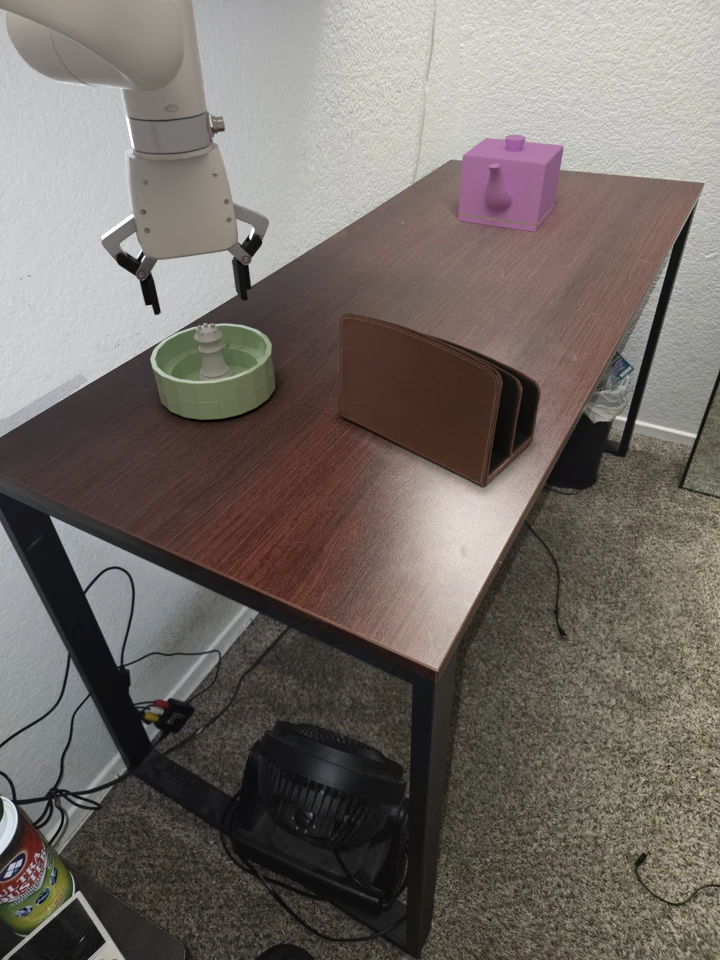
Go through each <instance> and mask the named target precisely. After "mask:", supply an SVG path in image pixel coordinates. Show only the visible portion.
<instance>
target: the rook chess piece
mask: <svg viewBox="0 0 720 960" xmlns="http://www.w3.org/2000/svg"><path fill="white" fill-rule="evenodd" d="M209 324H210V325H211V327H208V322H205V323H202V325H201V324H198V325H197V326H196V327H197V329H196V334H195V336H194V339H195V340H196V341H197V342H199V344H200V345H199V347H198V349H199V351H200V352H201V356H202V368H201V370H200V374H199V376H198V380H199V381H209V380H218V379H223V378H227V377H232V376H234V375H233V372H232V370H231V369H229V367H228V365H226V363H225V361H224V358H223V355H222V351H221V348H222V344H221V343H220V342H219V340H220V338H221V336H222V332H221V331H220V330H218V327H217V325H216V326H215V324H216V323H213V322H211V323H209ZM201 326H204V327H203V328H201Z"/></svg>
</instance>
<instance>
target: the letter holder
mask: <svg viewBox="0 0 720 960" xmlns="http://www.w3.org/2000/svg"><path fill="white" fill-rule="evenodd" d="M339 379H340V380H339V383H340V384H339V387H340V388H339V389H340V391H339V392H340V393H339V394H340V395H339V396H340V398H339V399H340V401H339V412H340V417H341V418H342V419H345V420H348V421H349V422H351V423H354V424H356V425H358V426H360V427H362V428H364V429H365V430H368V431H370V432H372V433H374V434H376V435H378V436H380V437H382V438H384V439H386V440H388V441H390V442H392V443H394V444H396V445H398V446H400V447H402V448H404V449H406V450H408V451H410V452H412V453H414V454H416V455H418V456H420V457H422V458H424V459H425V460H428V461H430V462H432V463H433V464H436V465H438V466H440V467H442V468H444V469H446V470H447V471H450V472H452V473H454V474H456V475H457V476H460V477H462V478H464V479H466V480H469V481H471V482H472V483H474V484H476V485H478V486H480V487H481V488H486V486H487V485H488V484H489V483H490V482H491V481H492V480H493V479H494V478H495V477H496V476H498V474H500V473H501V472H502V471H503V470H504V469H505V468H506V467H507V466H508V465H510V463H511V462H513V460H515V459H516V458H517V457H518V456H519V455H520V454H521V453H522V452H523V451H525V449H526V448H527V447H529V446H530V444H531V443H533V440H534V435H535V429H536V424H537V416H538V410H539V405H540V401H541V394H542V390H541V387H540V384H539V383H538V382H537V381H536V380H535V379H533V378H532V377H530V376H529V375H528V374H525V373H524V372H522V371H520V370H518V369H516V368H514V367H512V366H509V365H508V364H506V363H503V362H501V361H499V360H497V359H495V358H492V357H490V356H488V355H486V354H484V353H481V352H479V351H476V350H474V349H471V348H469V347H467V346H463V345H461V344H458V343H455V342H453V341H450V340H447V339H444V338H440V337H438V336H434V335H431V334H427V333H423V332H420V331H417V330H416V329H412V328H409V327H407V326H404V325H401V324H398V323H394V322H390V321H386V320H383V319H381V318H380V319H379V318H374V317H371V316H365V315H361V314H356V313H343V314H342V315H341V317H340V320H339Z"/></svg>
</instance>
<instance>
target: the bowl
mask: <svg viewBox="0 0 720 960" xmlns="http://www.w3.org/2000/svg"><path fill="white" fill-rule="evenodd" d="M210 324H211V323H209V324H208V323H207V325H208V327H211V325H210ZM214 324H215V326H216V325H217V327H218V330H220V331H221V332H222V336H221V338H220V340H219V342H220V343H221V344H222V348H221V351H222V355H223V358H224V361H225V363H226V365H228V367H229V369H231V370H232V372H233V375H234V376H232V377H227V378H223V379H218V380H209V381H199V380H198V376H199V374H200V370H201V368H202V356H201V352H200V351H199V349H198V347H199V345H200V344H199V342H197V341H196V340H195V339H194V336H195V334H196V329H197V326H193V327H189V328H187V329H184V330H181V331H177V332H175V333H173V334H172V335H170V336H167V337H166V338H164V339H163V340H161V341H160V343H158V345H156V346H155V347H154V349H153V350H152V353H151V355H150V358H149V360H150V365H151V369H152V372H153V376H154V381H155V383H156V389H157V392H158V395H159V399H160V400H159V401H160V403H161V404H162V406H164V407H165V408H166V409H167V410H168V411H169V412H171V413H173V414H175V415H177V416H180V417H183V418H187V419H195V420H201V421H204V420H221V419H227V418H232V417H236V416H239V415H242V414H245V413H247V412H250V411H252V410H254V409H256V408H259V406H261V405H262V404H263V403H265V402H266V401H268V400H269V399H270V397H271V396H272V395H273V393H274V392H275V390H276V384H277V383H276V382H277V374H276V367H275V366H276V365H275V359H274V358H275V357H274V351H273V344H272V342H271V340H270V338H269V337H268V336H267V335H266V334H265V333H263V332H261V331H260V330H259V329H256V328H253V327H251V326H247V325H244V324H235V323H214ZM200 326H201V328H203V327H204V326H203V325H200Z"/></svg>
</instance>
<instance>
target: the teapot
mask: <svg viewBox="0 0 720 960" xmlns="http://www.w3.org/2000/svg"><path fill="white" fill-rule="evenodd" d="M504 138H505V139H501V138H493V137H492V138H491V137H485V138H484V139H483V140H481V141H480V142H479V143H476V144H475V145H474V146H473V147H472V148H470V149H469V150H468V151H467V152H465V153H463V155H462V156H461V157H462V160H461V171H460V173H461V174H460V185H459V198H458V209H457V211H458V212H457V221H458V222H465V223H472V224H477V225H483V226H484V225H485V226H492V227H498V228H505V229H512V230H518V231H526V232H532V233H536V232H537V231H538V230H539V229H540V227H541V226H542V225H543V224H544V223H545V221H546V220H547V219H548V218H549V217H550V215H551V214H552V213H553V212H554V208H555V202H556V198H557V197H556V196H557V190H558V184H559V179H560V172H561V166H562V160H563V155H564V149H565V147H564V145H560V144H552V143H551V144H550V143H542V142H531V141H526V139H527V137H526V136H524V135H522V134H508V135H506V136H505V137H504ZM553 204H554V206H553V207H552V208H551V206H552V205H553ZM550 208H551V210H550V211H549V212H548V213H547V214H546V216H545V217H544V218H543V219H542V220H541V218H542V217H543V216H544V215H545V213H546V212H547V211H548V210H549V209H550ZM458 213H461V214H469V215H476V216H482V217H489V218H497V219H503V220H511V221H518V222H524V223H533V224H537V223H538V222H539V221H540V220H541V222H540V223H539V224H538V225H537V227H536V226H529V225H522V224H515V223H508V222H501V221H494V220H487V219H480V218H473V217H466V216H459V215H458Z"/></svg>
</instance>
